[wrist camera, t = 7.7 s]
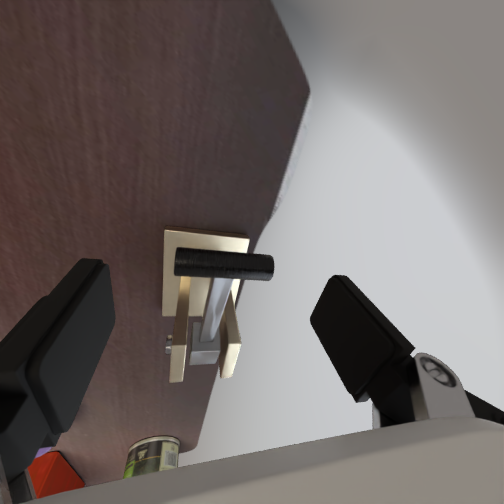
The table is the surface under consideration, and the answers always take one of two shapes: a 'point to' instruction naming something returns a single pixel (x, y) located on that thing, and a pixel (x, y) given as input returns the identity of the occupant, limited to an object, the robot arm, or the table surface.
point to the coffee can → (152, 456)
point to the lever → (217, 290)
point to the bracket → (198, 297)
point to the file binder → (53, 475)
